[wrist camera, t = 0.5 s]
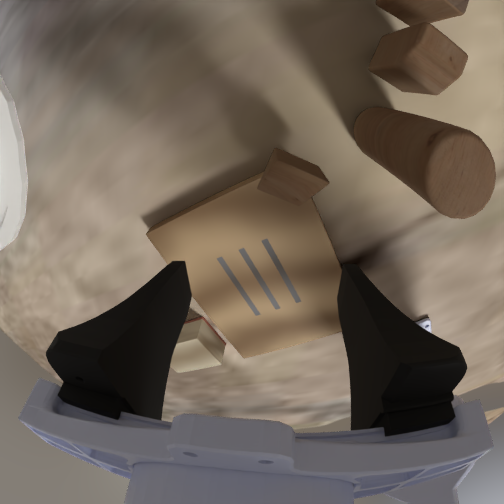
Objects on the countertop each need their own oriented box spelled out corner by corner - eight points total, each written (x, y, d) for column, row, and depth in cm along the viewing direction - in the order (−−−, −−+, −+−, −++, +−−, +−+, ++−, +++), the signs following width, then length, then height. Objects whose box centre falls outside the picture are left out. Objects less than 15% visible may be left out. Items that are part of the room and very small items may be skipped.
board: (359, 316, 28) (361, 324, 27) (244, 349, 32) (243, 358, 31) (293, 158, 20) (294, 163, 19) (151, 227, 24) (145, 234, 23)
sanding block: (226, 341, 32) (222, 364, 29) (183, 352, 34) (177, 373, 31) (203, 314, 30) (197, 338, 27) (160, 327, 32) (151, 349, 29)
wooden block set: (355, -30, 12) (417, -94, 3) (453, 34, 13) (549, 28, 4) (257, 180, 20) (251, 259, 11) (360, 225, 22) (412, 316, 13)
